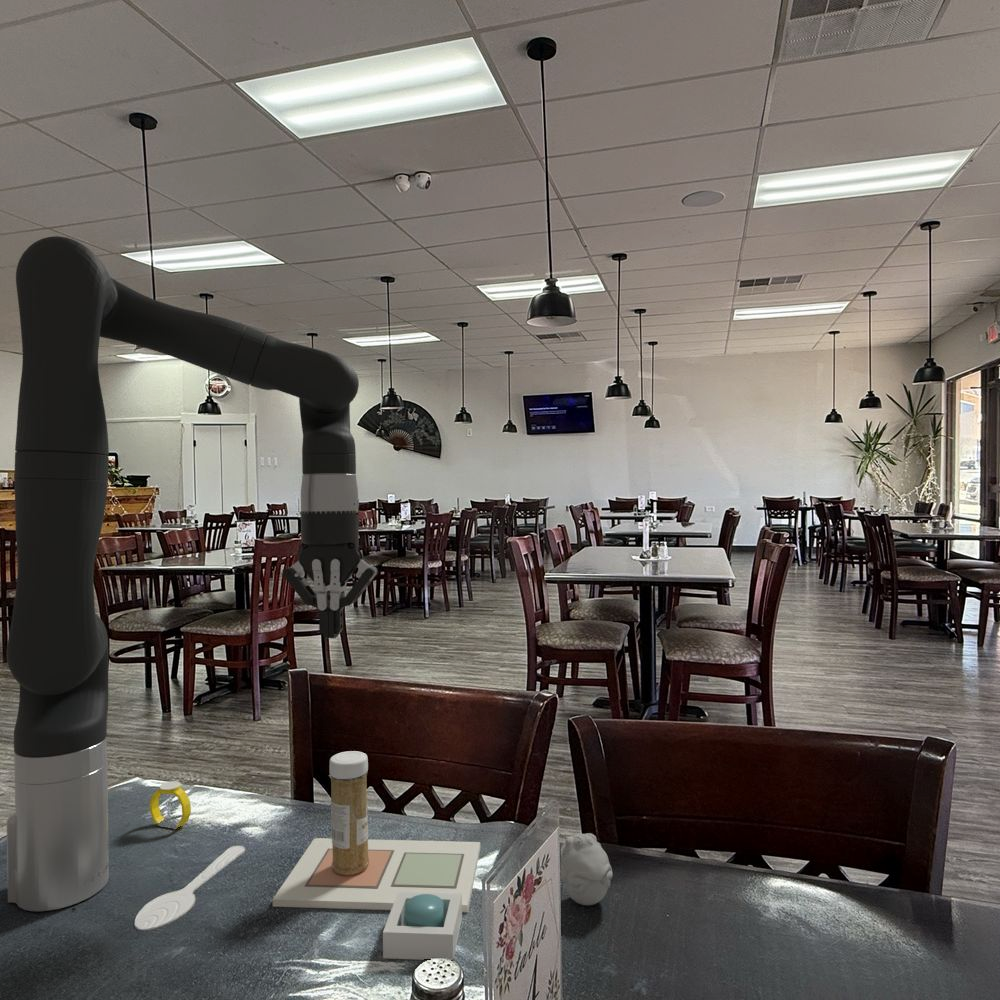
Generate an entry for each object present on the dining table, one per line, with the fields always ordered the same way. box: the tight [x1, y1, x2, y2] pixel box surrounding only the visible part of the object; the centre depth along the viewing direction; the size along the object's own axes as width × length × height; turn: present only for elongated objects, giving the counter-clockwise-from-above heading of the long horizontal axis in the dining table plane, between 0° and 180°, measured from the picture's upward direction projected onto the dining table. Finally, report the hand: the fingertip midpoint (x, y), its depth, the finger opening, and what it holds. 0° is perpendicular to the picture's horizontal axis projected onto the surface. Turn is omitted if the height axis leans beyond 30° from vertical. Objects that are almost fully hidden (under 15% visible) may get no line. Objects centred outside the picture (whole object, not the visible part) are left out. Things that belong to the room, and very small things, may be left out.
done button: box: [405, 894, 444, 927], centre depth 72 cm, size 4×4×2 cm
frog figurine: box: [560, 832, 614, 906], centre depth 79 cm, size 6×7×7 cm
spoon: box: [134, 845, 246, 931], centre depth 83 cm, size 5×18×1 cm, turn 167°
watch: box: [149, 780, 192, 829], centre depth 98 cm, size 6×3×6 cm, turn 72°
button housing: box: [382, 892, 463, 961], centre depth 72 cm, size 7×7×3 cm
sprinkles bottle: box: [328, 750, 369, 875], centre depth 85 cm, size 5×5×14 cm
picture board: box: [272, 837, 481, 913], centre depth 84 cm, size 22×14×1 cm, turn 86°
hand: (331, 637), depth 94 cm, fingers closed
